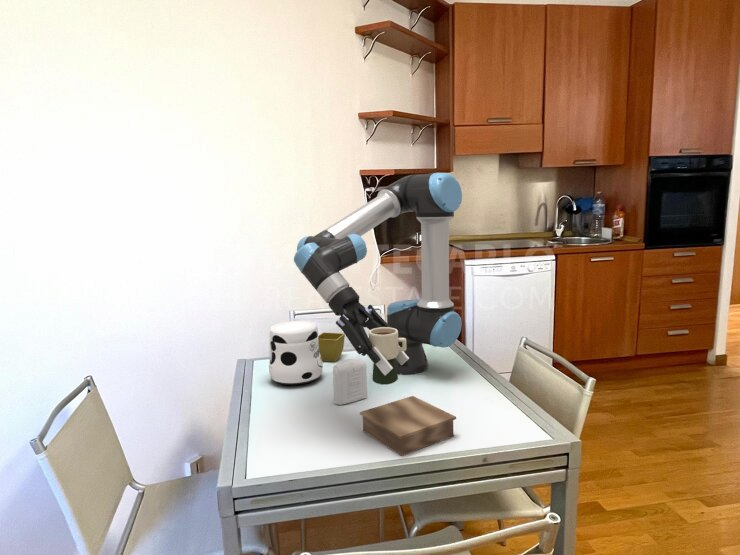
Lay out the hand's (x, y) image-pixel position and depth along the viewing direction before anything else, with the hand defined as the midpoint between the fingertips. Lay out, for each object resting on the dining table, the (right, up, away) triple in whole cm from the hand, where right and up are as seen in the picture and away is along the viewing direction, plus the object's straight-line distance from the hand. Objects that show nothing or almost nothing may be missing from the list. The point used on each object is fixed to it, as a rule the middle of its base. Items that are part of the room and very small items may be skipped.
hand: (397, 366), depth 124 cm
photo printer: (-12, -15, +27) cm, 33 cm away
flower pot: (-21, -9, +66) cm, 69 cm away
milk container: (-31, -12, +46) cm, 57 cm away
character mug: (-3, -4, +3) cm, 6 cm away
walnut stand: (+3, -17, +5) cm, 18 cm away
